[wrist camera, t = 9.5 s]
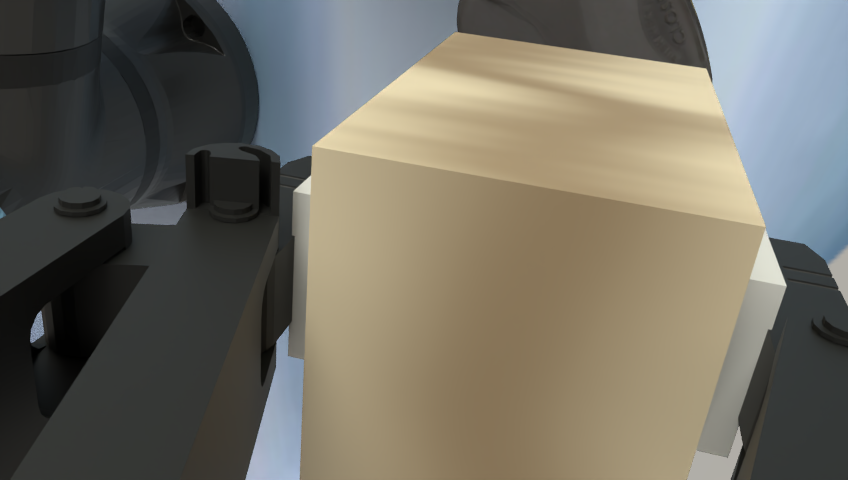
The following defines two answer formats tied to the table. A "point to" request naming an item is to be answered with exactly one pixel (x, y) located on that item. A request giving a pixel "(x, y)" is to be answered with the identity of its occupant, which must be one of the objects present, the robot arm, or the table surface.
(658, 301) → the beech block
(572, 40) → the coffee jar
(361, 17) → the table surface
